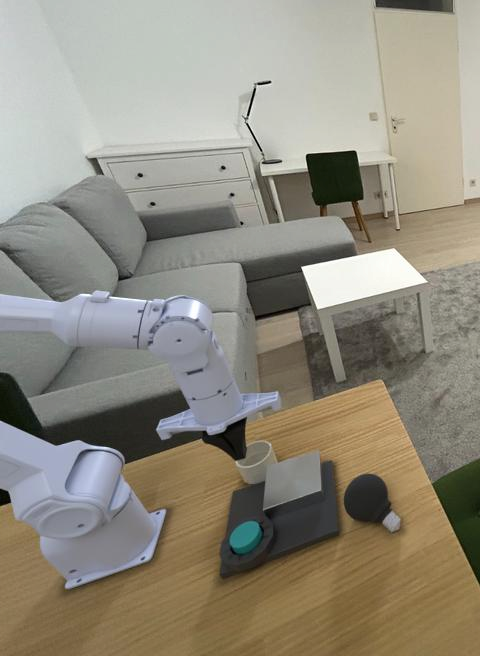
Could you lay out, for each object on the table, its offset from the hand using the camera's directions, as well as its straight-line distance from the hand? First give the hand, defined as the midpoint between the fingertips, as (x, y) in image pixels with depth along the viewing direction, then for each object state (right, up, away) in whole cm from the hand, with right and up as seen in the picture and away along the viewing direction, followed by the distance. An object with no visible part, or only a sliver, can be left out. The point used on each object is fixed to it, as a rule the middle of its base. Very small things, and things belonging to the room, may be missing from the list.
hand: (241, 454), depth 58 cm
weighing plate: (+7, -8, +5) cm, 11 cm away
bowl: (-2, -6, +8) cm, 10 cm away
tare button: (+4, -10, -4) cm, 12 cm away
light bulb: (+20, -10, +2) cm, 22 cm away
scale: (+6, -10, +1) cm, 12 cm away
